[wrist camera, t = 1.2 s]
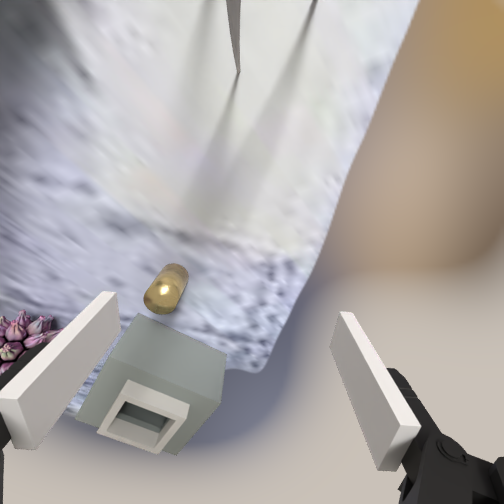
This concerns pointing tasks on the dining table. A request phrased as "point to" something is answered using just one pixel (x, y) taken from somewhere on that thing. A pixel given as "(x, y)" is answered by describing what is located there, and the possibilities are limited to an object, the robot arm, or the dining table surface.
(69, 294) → the dining table surface
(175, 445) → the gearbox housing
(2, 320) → the flower
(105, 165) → the dining table surface
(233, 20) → the juicer
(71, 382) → the robot arm
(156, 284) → the brass slug
